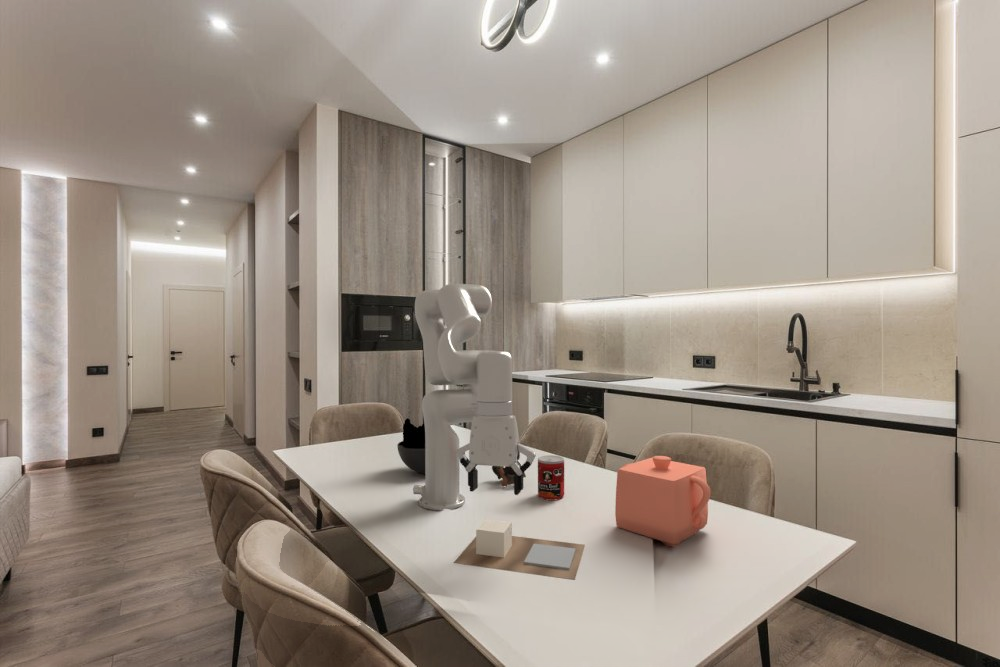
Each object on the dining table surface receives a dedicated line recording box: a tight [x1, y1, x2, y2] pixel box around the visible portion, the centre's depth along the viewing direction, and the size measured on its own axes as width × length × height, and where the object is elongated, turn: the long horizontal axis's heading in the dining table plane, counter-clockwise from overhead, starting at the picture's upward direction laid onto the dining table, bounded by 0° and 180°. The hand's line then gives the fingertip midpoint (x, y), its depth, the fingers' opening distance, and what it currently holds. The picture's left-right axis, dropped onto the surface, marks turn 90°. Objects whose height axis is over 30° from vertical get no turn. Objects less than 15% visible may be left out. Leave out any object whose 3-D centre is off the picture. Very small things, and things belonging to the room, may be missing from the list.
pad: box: [524, 544, 576, 570], centre depth 99 cm, size 9×9×1 cm
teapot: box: [614, 455, 712, 547], centre depth 118 cm, size 25×23×18 cm
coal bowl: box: [396, 417, 425, 474], centre depth 168 cm, size 20×20×19 cm
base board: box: [453, 535, 586, 581], centre depth 100 cm, size 24×16×2 cm, turn 73°
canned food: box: [537, 454, 565, 501], centre depth 142 cm, size 8×8×11 cm
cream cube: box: [475, 518, 513, 558], centre depth 102 cm, size 6×6×5 cm
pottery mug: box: [491, 466, 527, 487], centre depth 155 cm, size 12×10×8 cm
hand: (495, 491), depth 102 cm, fingers open, 9 cm apart
